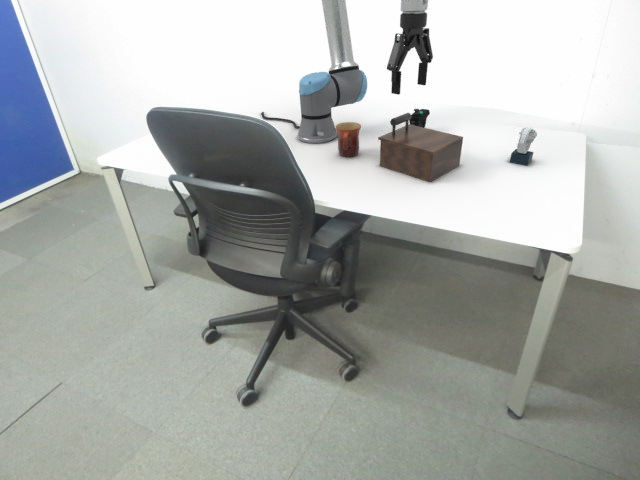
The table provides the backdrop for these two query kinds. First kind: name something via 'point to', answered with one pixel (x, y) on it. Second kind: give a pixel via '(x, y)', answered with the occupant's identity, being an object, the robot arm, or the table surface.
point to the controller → (419, 117)
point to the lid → (418, 136)
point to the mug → (348, 138)
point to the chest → (420, 160)
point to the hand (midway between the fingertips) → (409, 89)
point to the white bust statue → (524, 147)
